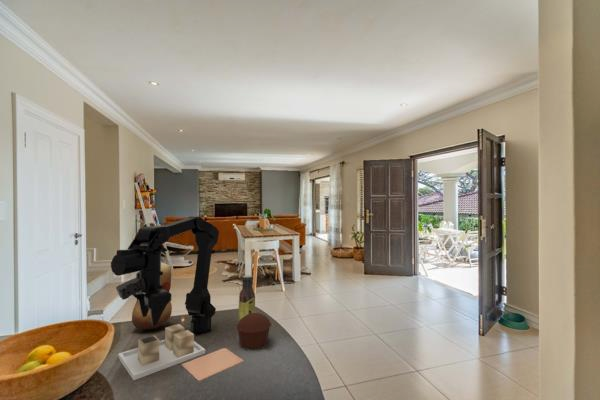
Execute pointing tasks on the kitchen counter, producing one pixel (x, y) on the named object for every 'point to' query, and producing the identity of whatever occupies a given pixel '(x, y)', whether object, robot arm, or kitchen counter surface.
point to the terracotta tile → (212, 364)
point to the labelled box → (148, 350)
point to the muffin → (253, 331)
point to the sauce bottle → (246, 297)
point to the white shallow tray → (165, 361)
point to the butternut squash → (146, 322)
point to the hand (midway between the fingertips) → (149, 320)
